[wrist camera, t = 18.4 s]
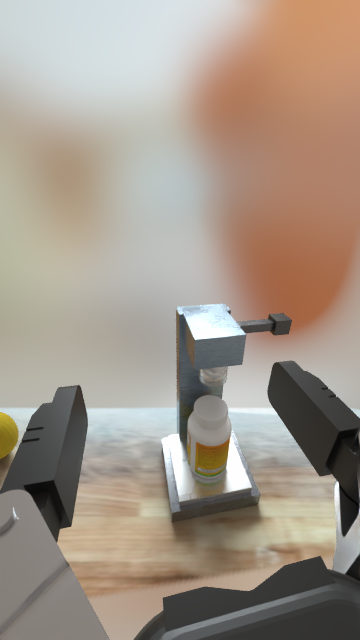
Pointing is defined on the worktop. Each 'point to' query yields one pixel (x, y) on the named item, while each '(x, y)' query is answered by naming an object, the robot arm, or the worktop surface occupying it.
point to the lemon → (7, 434)
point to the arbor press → (207, 379)
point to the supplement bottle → (208, 437)
